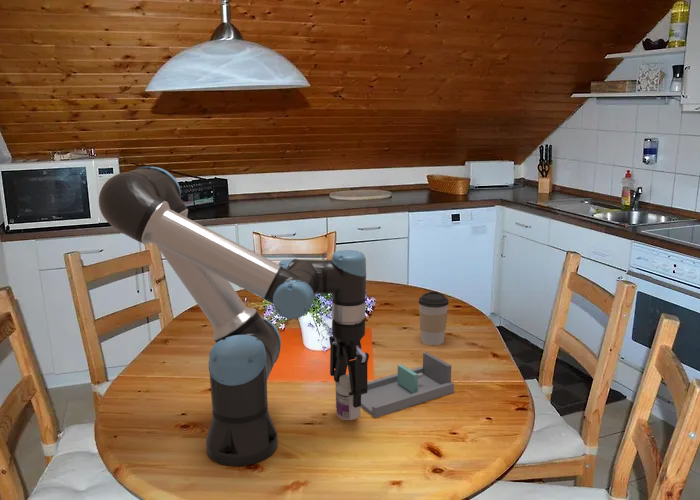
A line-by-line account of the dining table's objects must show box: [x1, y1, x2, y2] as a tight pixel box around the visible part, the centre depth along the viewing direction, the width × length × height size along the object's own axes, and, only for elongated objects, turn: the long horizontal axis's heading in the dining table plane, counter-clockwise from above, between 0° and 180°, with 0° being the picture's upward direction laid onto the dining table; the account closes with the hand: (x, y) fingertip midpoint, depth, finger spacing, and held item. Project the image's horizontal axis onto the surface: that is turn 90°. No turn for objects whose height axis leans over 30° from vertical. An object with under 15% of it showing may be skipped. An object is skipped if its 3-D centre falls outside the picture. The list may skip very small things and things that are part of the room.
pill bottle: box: [335, 373, 355, 421], centre depth 143 cm, size 5×5×10 cm
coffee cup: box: [418, 290, 449, 346], centre depth 187 cm, size 9×9×15 cm
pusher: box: [397, 363, 423, 393], centre depth 156 cm, size 5×7×5 cm
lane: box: [361, 351, 455, 419], centre depth 154 cm, size 24×12×7 cm, turn 121°
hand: (347, 412), depth 144 cm, fingers closed on pill bottle, 5 cm apart
